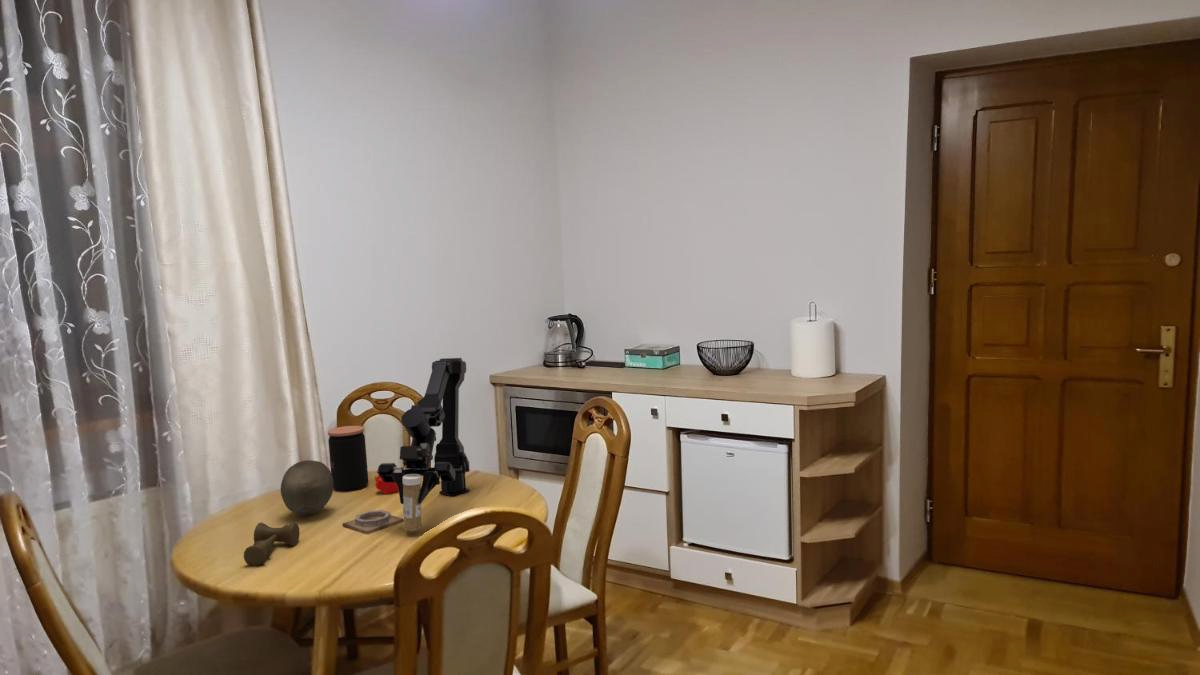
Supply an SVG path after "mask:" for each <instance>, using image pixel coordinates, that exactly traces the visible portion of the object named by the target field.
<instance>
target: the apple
mask: <svg viewBox="0 0 1200 675" xmlns="http://www.w3.org/2000/svg"><path fill="white" fill-rule="evenodd" d="M374 478H375V479H374V480H375V483H374V484H375V485H374V486H375V488H376V489H377V490H379V491H380V492H382V493H384V494H385V495H390V494H395V493H398V492H399V489H398V485H397V484H396V483H385V482H383V480H382V479H381V477H380V476H379V474H377V475H375V476H374Z"/></svg>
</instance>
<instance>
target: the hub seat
mask: <svg viewBox="0 0 1200 675" xmlns="http://www.w3.org/2000/svg"><path fill="white" fill-rule="evenodd" d="M401 523H404V517H403V518H402V517H399V516H395V515H392V514H391V512H390V511H387V510H369V511H365V512H362V513H359V514H356V517H355V518H354V519H351V520H349V521H346V522H343V523H342V527H343V528H346V529H349V528H350V529H349V530H352V531H357V532H359V533H363V534H364V535H365V534H366V535H370V534H372V533H375V532H378V531H381V530H383V529H386V528H389V527H393V526H395V525H398V524H401Z"/></svg>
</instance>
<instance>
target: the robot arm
mask: <svg viewBox="0 0 1200 675" xmlns="http://www.w3.org/2000/svg"><path fill="white" fill-rule="evenodd" d="M466 372H467V363H466V361H464V360H463V359H462V357H451V358H450V357H448V358H447V357H446V358H440V359H439V360H434V361H432V364H431V374H430V376H429V379H428V384H427V387H426V390H425V393H424V396H423V397H422V398H421V399H420V400H418V401H417V403H416V404H413V405H411V406H410V407H411V408H409V409H408V410H406V411H404V413H403V414H402V415H401V417H400V420H401V424H402V425H403V427H404V429H405V431H406V433H407V434H408V436H409V437H410V438H412V439H411V443H410V445H404V446H403V445H402V446H400V448H399V449H400V450H399V460H402V464H403V466H406V467H403V466H397V464H396V463H395V462H388V463H387V462H386V463H385V462H384V463H383V462H382V463H380V464H379V465H378V466H377V467H378V468H377V471H376V472H377V475H379V476H380V477H381V479H382V480H383V482H385V483H396V484H397V485H398V494H399V502H400V504H401V505H403V476H404V475H407V474H419V475H421V477H422V481H421V490H420V494H419V499H418V503H419V504H421V505H422V503H423V502H424V501H425V499H426V498H427V496H428V495H429V494H430V492H431V491H432V490H433V489H434V488H435V487H436V486H438V485H440V486H441V488H440V489H441V490H439V494H443V495H445V496H450V497H455V496H458V495H461V494H464V493H467V492H470V488H468V487H467V484H466V473H468V472H470V470H471V469H470V461H469V459H468V457H467V456H468V455H467V454H466V453H465V447H464V444H463V443H462V442H461V440H460V439H459V416H460V415H459V414H460V413H459V408H460V407H459V404H460V402H459V400H460V399H459V397H460V396H459V394H460V393H459V392H460V387H461V385H463V382H464V380H465V376H466V375H465V374H466ZM441 425H442V426H441ZM440 426H441V427H442V428H441V432H442V434H441V439H440V440H439V442H438V443H437V444H436V445H435V442H436V441H437V436H436V435H437V433H436V431H435V429H434V428H435V427H440ZM434 446H435V453H434V455H433V452H434ZM431 461H433V462H434V467H430V466H431Z"/></svg>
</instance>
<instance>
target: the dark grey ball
mask: <svg viewBox="0 0 1200 675" xmlns="http://www.w3.org/2000/svg"><path fill="white" fill-rule="evenodd" d="M281 480H282V481H281V484H280V495H281V497H282V498H281V499H282V501H283V503H284V505H285V507H286V508H287V509H288V510H289V511H290V512H292V513H293V514H295V515H297V516H302V517H303V516H304V517H306V516H312V515H314V514H316V513H318V512H320V511H321V510H322V509H323V508H325V506H326V505H327V504H328V503H329V501H330V499H331V498H332V495H333V492H334V488H333V486H334V484H333V477H332V474H331V469H329V467H328V466H327V465H326V464H325V463H323V462H321V461H318V460H313V459H312V460H311V459H310V460H308V459H307V460H301V461H298V462H295V463H294V464H293V465H291V466H289V468H288V469H287V470H286V471H285V473H284V475H283V476H282V479H281Z"/></svg>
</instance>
